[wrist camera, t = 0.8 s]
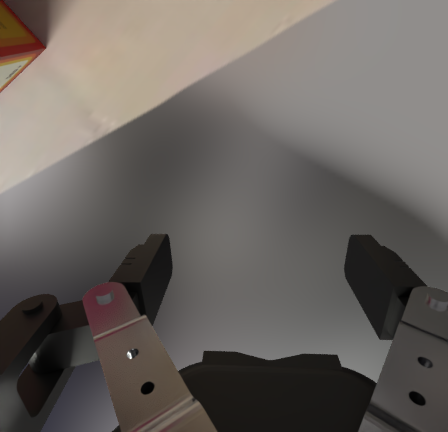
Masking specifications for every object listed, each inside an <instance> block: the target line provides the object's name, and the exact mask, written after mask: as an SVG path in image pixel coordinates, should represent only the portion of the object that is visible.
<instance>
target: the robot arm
mask: <svg viewBox="0 0 448 432" xmlns="http://www.w3.org/2000/svg"><path fill="white" fill-rule="evenodd" d="M172 268H173V267H172V256H171V248H170V240H169V236H168V234H151V235H150V236H149V237H148V239H147V241H146V242H145V244H144V245H138V246H136V247H135V248H133V249H132V250H131V251H130V252H129V253H128V255H127V256H126V257H125V259H124V260H123V262H122V263H121V265H120V266H119V267H118V269H117V270H116V272H115V273H114V275H113V276H112V277H111V279H110V280H109V282H108V283H104V284H100V285H97V286H96V287H94V288H92V289H90V290H89V291H88V292H87V293H86V294H85V295H84V297H83V300H81V301H77V302H72V303H67V304H62V305H59V303H58V301H57V298H56V297H55V296H53V295H50V294H42V295H37V296H33V297H30V298H28V299H26V300H24V301H22V302H20V303H19V304H17V305H16V306H15V307H13V308H12V309H11V310H10V312H8V313H7V315H6V316H5V317H4V318H3V319H2V320H1V321H0V432H40V431H41V429H42V428H43V426H44V424H45V422H46V420H47V418H48V416H49V415H50V413H51V411H52V409H53V407H54V405H55V403H56V402H57V399H58V398H59V396H60V394H61V392H62V390H63V389H64V387H65V385H66V383H67V381H68V379H69V377H70V376H71V374H72V372H73V370H74V368H75V366H78V365H81V364H86V363H89V362H93V361H97V360H100V362H101V365H102V368H103V372H104V376H105V379H106V382H107V386H108V389H109V392H110V396H111V399H112V402H113V406H114V409H115V412H116V416H117V419H118V422H119V426H117V428H115V429H114V431H112V432H448V292H446V291H444V290H441V289H438V288H434V287H428V286H427V285H426V284H425V283H424V282H423V281H422V280H421V279H420V278H419V277H418V276H417V275H416V274H415V273H414V272H413V271H412V269H411V268H409V267H408V265H407V264H406V263H405V262H403V260H402V259H401V258H400V257H399V256H398V255H397V254H396V253H395V252H394V251H392V250H390V249H388V248H387V247H385V246H381V245H380V244H379V243H378V242H377V241H376V240H375V239H374V238H373V237H372V236H371V235H351V236H350V238H349V243H348V248H347V254H346V259H345V265H344V272H345V277H346V280H347V282H348V283H349V285H350V287H351V289H352V290H353V292H354V294H355V296H356V298H357V300H358V301H359V303H360V305H361V307H362V308H363V310H364V312H365V314H366V316H367V318H368V319H369V321H370V323H371V325H372V327H373V328H374V330H375V332H376V334H377V336H378V337H379V339H380V340H393V341H392V344H391V346H390V349H389V352H388V355H387V357H386V360H385V363H384V365H383V368H382V371H381V373H380V376H379V379H378V382H377V383H375V382H374V381H373V380H371V379H369V378H368V377H366V376H364V375H362V374H360V373H358V372H356V371H353V370H350V369H348V368H344V367H341V364H340V361H339V358H338V356H337V355H328V354H300V355H296V356H291V357H286V358H281V359H276V360H265V359H262V358H257V357H254V356H250V355H246V354H242V353H238V352H225V351H223V352H222V351H204V353H203V360H202V362H199V363H195V364H192V365H189V366H187V367H185V368H183V369H181V370H179V371H177V369H176V367H175V365H174V364H173V362H172V360H171V358H170V357H169V355H168V353H167V351H166V350H165V348H164V346H163V344H162V343H161V341H160V339H159V338H158V336H157V334H156V332H155V330H154V329H153V327H152V326H153V324H154V321H155V318H156V316H157V313H158V310H159V308H160V305H161V303H162V300H163V297H164V295H165V292H166V289H167V287H168V284H169V281H170V279H171V276H172ZM28 362H29V364H28V366H27V367H26V369H25V370H24V371H23V373H22V374H21V376H20V377H19V375H20V373H21V371H22V370H23V368H24V367H25V366H26V364H27V363H28ZM18 377H19V378H18Z"/></svg>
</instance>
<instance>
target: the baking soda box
mask: <svg viewBox="0 0 448 432" xmlns="http://www.w3.org/2000/svg"><path fill="white" fill-rule="evenodd" d="M45 49H46V47H45V46H44V45H43V44H42V43H41V42H40V41H39V40H38V39H37V38H36V36H35V35H34V34H33V33H32V32H31V31H30V30H29V29H28V28H27V27H26V25H25V24H24V23H23V22H22V21H21V20H20V19H19V18H18V17H17V15H16V14H15V13H14V12H13V11H12V10H11V9H10V8H9V7H8V6H7V4H6V3H5V2H4V1H3V0H0V93H1V92H2V91H3V90H4V89H5V88H6V87H7V86H8V85H9V84H10V83H11V82H12V81H13V80H14V79H15V78H16V77H17V76H18V75H19V74H20V73H21V72H22V71H23V70H24V69H25V68H26V67H27V66H28V65H29V64H31V63H32V62H33V61H34V60H35V59H36V58H37V57H38V56H39V55H40V54H41V53H42V52H43V51H44V50H45Z"/></svg>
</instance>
